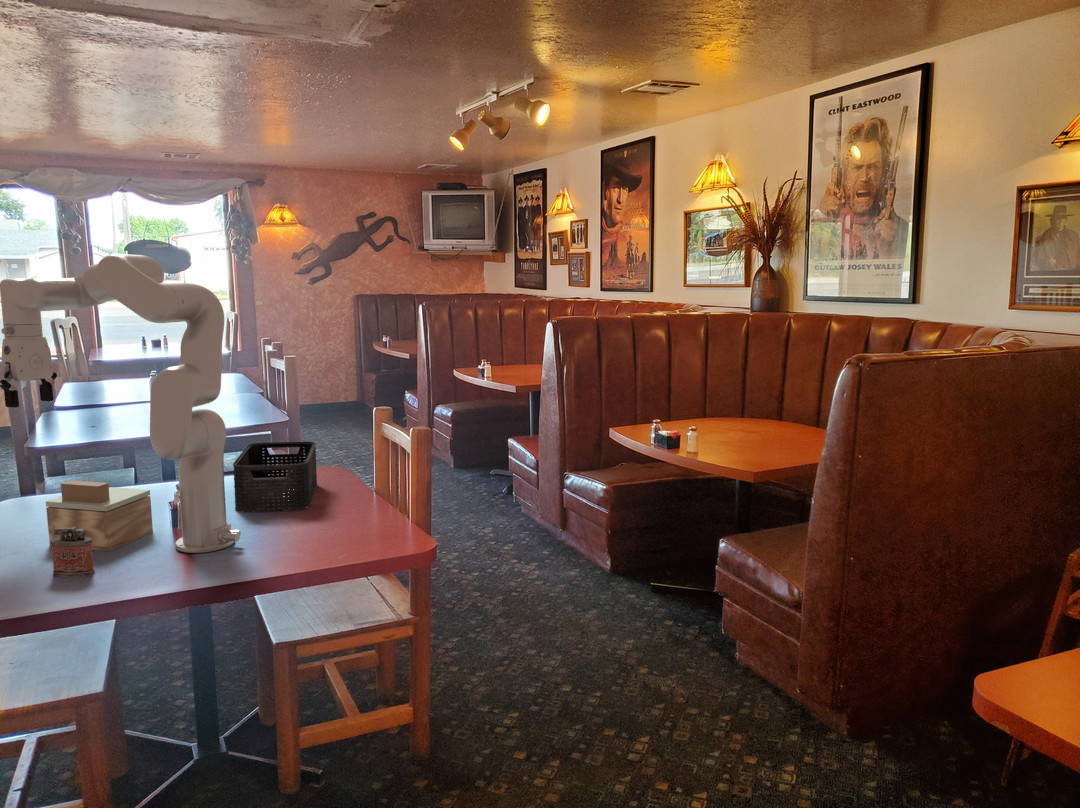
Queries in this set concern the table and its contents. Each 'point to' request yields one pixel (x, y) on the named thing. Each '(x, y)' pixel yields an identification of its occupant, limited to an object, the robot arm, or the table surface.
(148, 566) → the table surface
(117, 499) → the lid
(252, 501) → the storage bin
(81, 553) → the lighter
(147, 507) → the wooden box
